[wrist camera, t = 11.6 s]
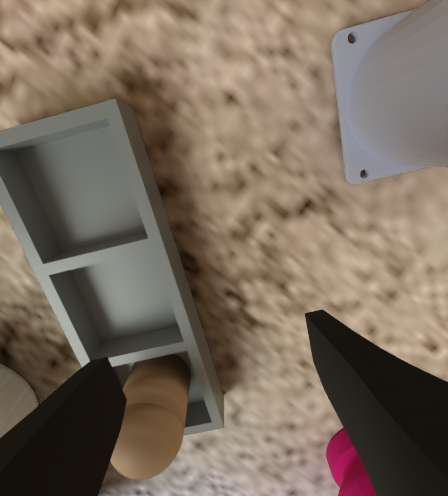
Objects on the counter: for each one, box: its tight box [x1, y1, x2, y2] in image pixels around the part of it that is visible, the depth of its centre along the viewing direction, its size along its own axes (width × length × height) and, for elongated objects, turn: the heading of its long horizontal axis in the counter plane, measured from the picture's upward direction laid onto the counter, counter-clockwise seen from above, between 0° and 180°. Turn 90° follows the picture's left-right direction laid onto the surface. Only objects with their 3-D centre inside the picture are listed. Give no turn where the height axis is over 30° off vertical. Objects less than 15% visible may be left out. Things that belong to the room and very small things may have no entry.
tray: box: [0, 99, 224, 436], centre depth 18 cm, size 8×21×3 cm, turn 14°
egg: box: [110, 354, 191, 480], centre depth 18 cm, size 4×4×7 cm
